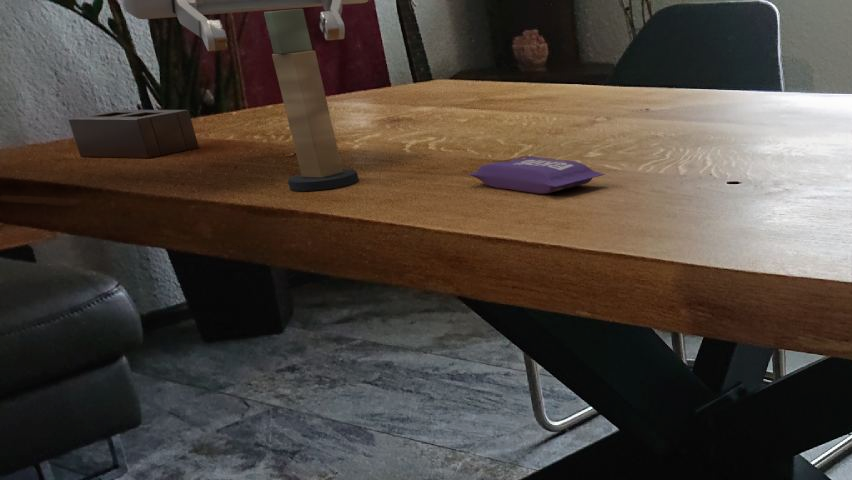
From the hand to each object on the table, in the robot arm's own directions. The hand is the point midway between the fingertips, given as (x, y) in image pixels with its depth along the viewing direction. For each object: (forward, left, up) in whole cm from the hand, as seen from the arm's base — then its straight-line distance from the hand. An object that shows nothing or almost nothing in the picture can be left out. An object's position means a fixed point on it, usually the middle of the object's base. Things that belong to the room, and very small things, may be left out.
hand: (278, 39), depth 91 cm
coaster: (+1, -3, -12) cm, 12 cm away
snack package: (+18, -15, -12) cm, 26 cm away
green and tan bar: (+1, -3, -11) cm, 11 cm away
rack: (-19, +33, -12) cm, 40 cm away
